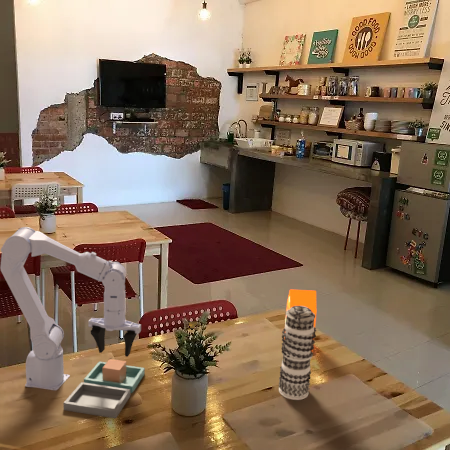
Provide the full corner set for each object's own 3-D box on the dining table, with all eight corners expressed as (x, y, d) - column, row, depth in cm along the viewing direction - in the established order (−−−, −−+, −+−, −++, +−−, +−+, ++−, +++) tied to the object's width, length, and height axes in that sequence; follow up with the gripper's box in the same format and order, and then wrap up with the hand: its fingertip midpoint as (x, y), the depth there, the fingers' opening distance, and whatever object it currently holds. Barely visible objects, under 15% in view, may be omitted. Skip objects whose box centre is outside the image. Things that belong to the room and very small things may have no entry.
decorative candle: (317, 395, 140) (325, 312, 134) (290, 404, 136) (297, 318, 130) (297, 379, 148) (304, 300, 142) (271, 387, 144) (277, 305, 138)
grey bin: (63, 411, 128) (63, 402, 127) (81, 390, 138) (81, 382, 137) (115, 420, 126) (115, 411, 125) (130, 397, 135) (130, 389, 135)
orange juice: (312, 352, 165) (318, 295, 160) (285, 350, 165) (290, 293, 160) (309, 341, 173) (314, 286, 168) (283, 339, 173) (288, 285, 168)
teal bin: (84, 387, 139) (83, 379, 138) (99, 369, 149) (99, 361, 148) (132, 394, 137) (132, 386, 136) (144, 375, 146) (144, 367, 146)
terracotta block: (102, 383, 140) (102, 367, 139) (109, 374, 145) (109, 358, 144) (119, 386, 139) (119, 370, 138) (126, 377, 144) (126, 361, 143)
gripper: (83, 310, 135) (83, 356, 138) (134, 316, 132) (134, 363, 135) (94, 300, 141) (94, 344, 145) (143, 306, 139) (143, 351, 142)
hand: (114, 352), depth 140 cm, fingers open, 7 cm apart
